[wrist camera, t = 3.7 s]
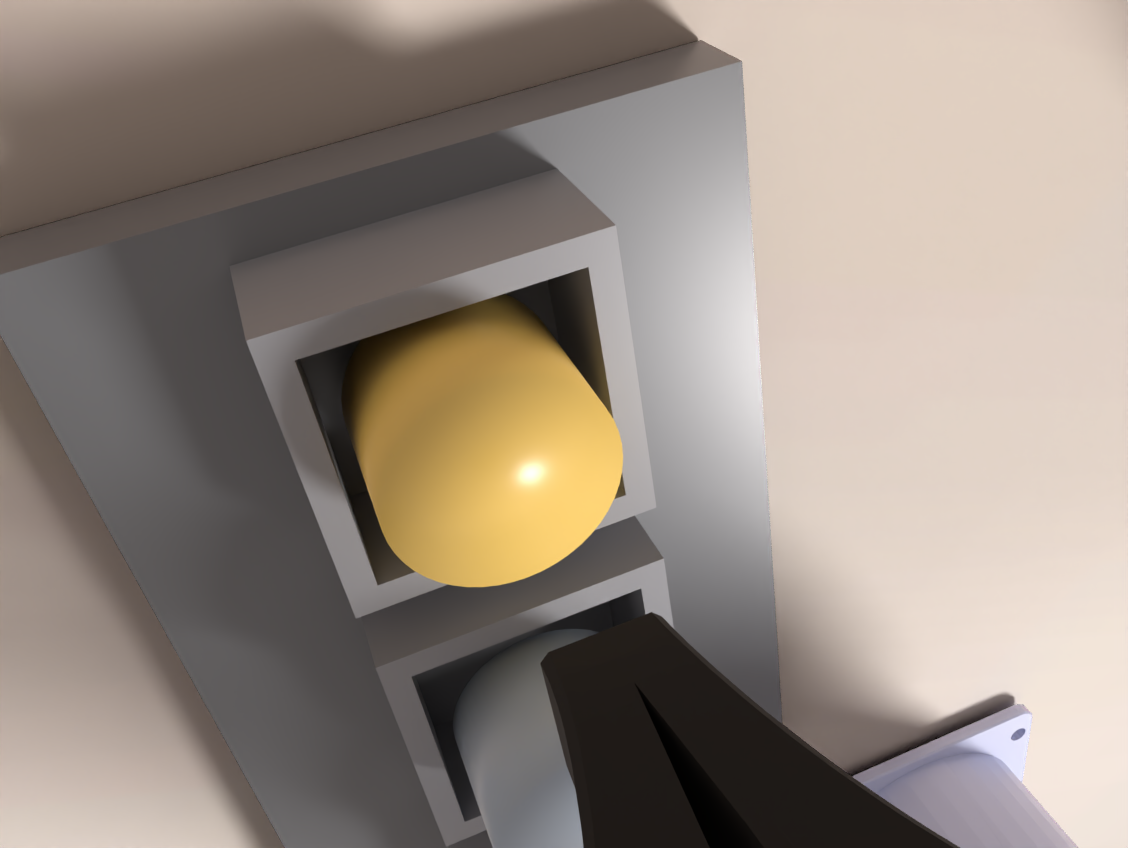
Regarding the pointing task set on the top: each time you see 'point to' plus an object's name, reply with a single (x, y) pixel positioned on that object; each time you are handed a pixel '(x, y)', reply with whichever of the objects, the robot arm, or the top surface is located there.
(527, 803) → the slate button
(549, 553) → the amber button
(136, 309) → the panel
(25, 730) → the top surface
